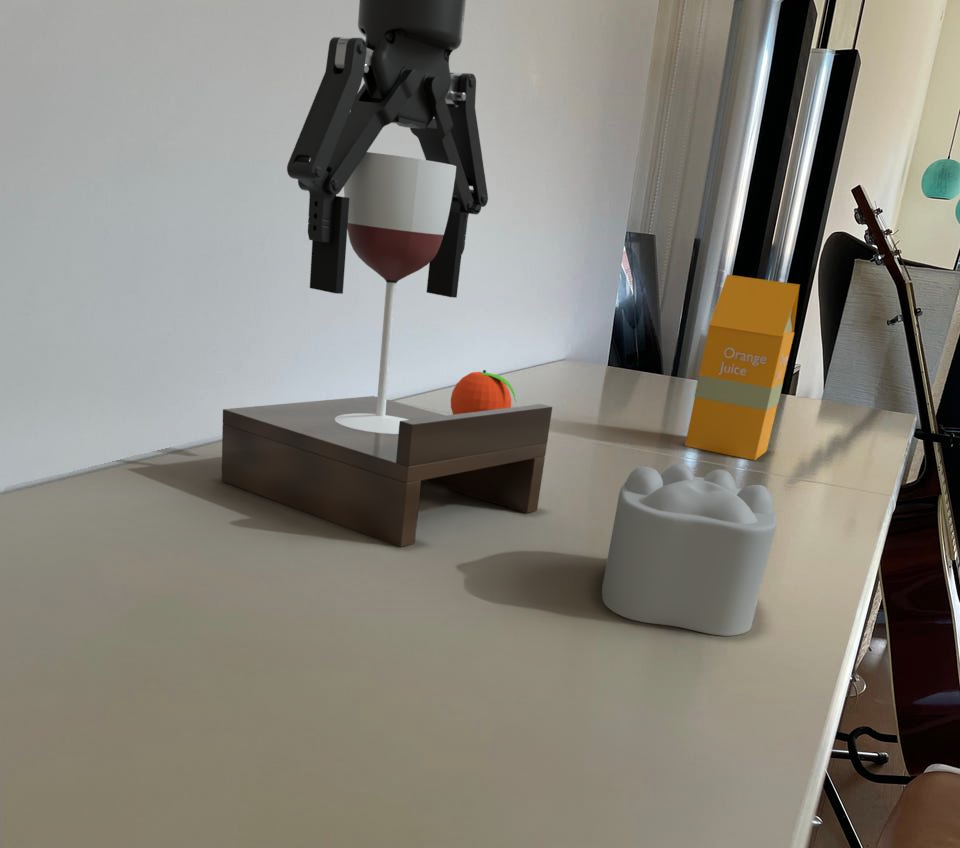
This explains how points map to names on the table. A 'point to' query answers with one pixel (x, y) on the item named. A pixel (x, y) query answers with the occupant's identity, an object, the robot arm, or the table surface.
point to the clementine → (480, 393)
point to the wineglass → (395, 241)
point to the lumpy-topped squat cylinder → (689, 550)
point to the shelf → (383, 460)
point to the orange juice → (743, 367)
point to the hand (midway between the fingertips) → (387, 293)
